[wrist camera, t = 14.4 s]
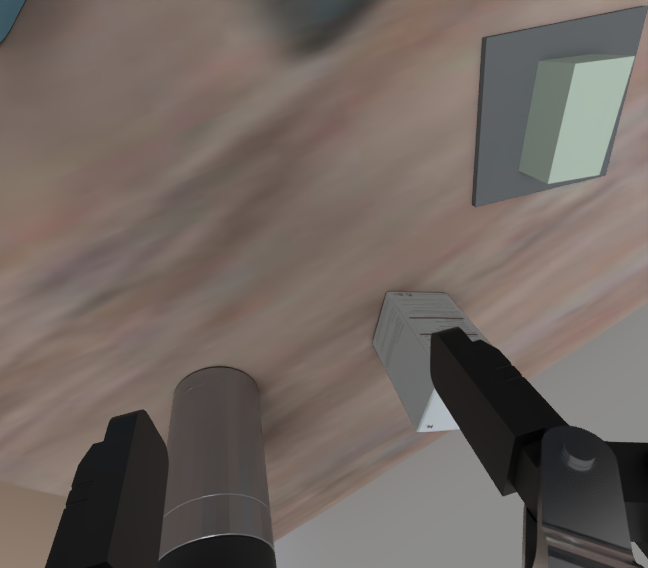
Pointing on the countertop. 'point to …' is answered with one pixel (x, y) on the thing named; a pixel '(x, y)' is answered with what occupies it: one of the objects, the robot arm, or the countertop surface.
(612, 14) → the mat
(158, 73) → the countertop surface
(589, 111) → the box
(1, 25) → the blue box
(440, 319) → the supplement box
